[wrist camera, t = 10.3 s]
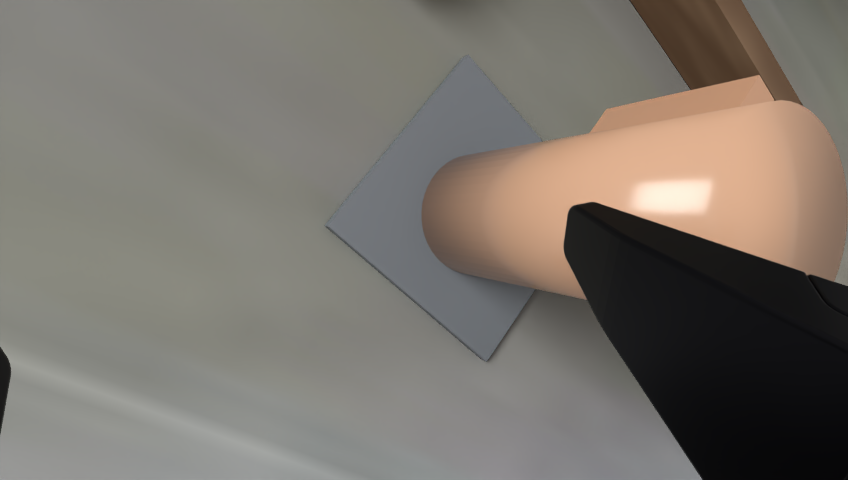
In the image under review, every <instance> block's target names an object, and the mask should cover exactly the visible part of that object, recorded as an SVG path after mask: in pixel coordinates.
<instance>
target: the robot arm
mask: <svg viewBox="0 0 848 480" xmlns="http://www.w3.org/2000/svg"><path fill="white" fill-rule="evenodd" d="M563 247H564V254H565V257H566V260H567V262H568V264H569V266H570V267H571V269H572V271H573V273H574V275H575V277H576V279H577V281H578V283H579V285H580V287H581V289H582V291H583V293H584V295H585V297H586V299H587V301H588V303H589V305H590V306H591V308H592V310H593V312H594V314H595V316H596V318H597V320H598V322H599V323H600V325H601V327H602V329H603V330H604V332H605V333H606V335H607V337H608V338H609V340H610V341H611V343H612V344H613V346H614V347H615V349H616V350H617V352H618V353H619V355H620V356H621V358H622V359H623V361H624V362H625V364H626V365H627V367H628V368H629V370H630V371H631V373H632V374H633V376H634V377H635V379H636V380H637V382H638V383H639V385H640V386H641V388H642V389H643V391H644V392H645V394H646V395H647V397H648V398H649V400H650V401H651V403H652V404H653V406H654V407H655V409H656V410H657V412H658V413H659V415H660V416H661V418H662V419H663V421H664V422H665V424H666V425H667V427H668V428H669V430H670V431H671V433H672V434H673V436H674V437H675V439H676V440H677V442H678V444H679V445H680V447H681V448H682V450H683V451H684V453H685V454H686V456H687V457H688V459H689V460H690V462H691V463H692V465H693V466H694V468H695V469H696V471H697V472H698V474H699V475H700V477H701V478H702V480H848V286H845V285H842V284H839V283H836V282H833V281H830V280H827V279H824V278H821V277H818V276H815V275H812V274H809V275H806V273H805V272H803V271H800V270H797V269H794V268H791V267H788V266H785V265H782V264H779V263H776V262H773V261H770V260H767V259H764V258H761V257H758V256H755V255H752V254H749V253H746V252H743V251H740V250H737V249H734V248H731V247H728V246H725V245H722V244H719V243H716V242H713V241H710V240H707V239H704V238H701V237H698V236H695V235H692V234H689V233H686V232H683V231H680V230H677V229H674V228H671V227H668V226H665V225H662V224H659V223H656V222H653V221H650V220H647V219H644V218H641V217H638V216H635V215H632V214H629V213H626V212H623V211H620V210H617V209H614V208H611V207H608V206H605V205H602V204H599V203H596V202H588V203H583V204H577V205H573V206H572V207H571V208H570V209H569V211H568V215H567V222H566V230H565V237H564V246H563ZM10 377H11V367H10V363H9V360H8V358H7V356H6V355H5V353H4V352H3V350H2V349H1V347H0V433H1V428H2V422H3V416H4V411H5V405H6V399H7V394H8V388H9V383H10Z"/></svg>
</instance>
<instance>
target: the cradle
mask: <svg viewBox="0 0 848 480" xmlns="http://www.w3.org/2000/svg"><path fill="white" fill-rule="evenodd" d="M630 1H631V2H632V4H633V5H634V7H635V8H636V10H637V11H638V13H639V14H640V16H641V17H642V18H643V20H644V21H645V23H646V24H647V26H648V27H649V29H650V30H651V32H652V33H653V35H654V36H655V38H656V39H657V40H658V42H659V43H660V45H661V46H662V48H663V49H664V51H665V52H666V54H667V55H668V57H669V58H670V60H671V61H672V62H673V64H674V65H675V67H676V68H677V70H678V71H679V73H680V74H681V76H682V77H683V79H684V80H685V82H686V83H687V85H688V86H689V87H690V89H691V90H694V89H699V88H703V87H707V86H712V85H716V84H721V83H725V82H730V81H734V80H739V79H743V78H748V77H752V76H757V75H760V77H761V79H762V80H763V82H764V84H765V85H766V87H767V89H768V90H769V92H770V94H771V95H772V97H773V99H774V101H778V100H784V101H791V102H794V103H797V104H800V105H802V103H801V102H800V100H799V98H798V96H797V95H796V93H795V91H794V90H793V88H792V86H791V84H790V83H789V81H788V79H787V78H786V76H785V74H784V72H783V71H782V69H781V67H780V66H779V64H778V62H777V61H776V59H775V57H774V55H773V54H772V52H771V50H770V49H769V47H768V45H767V43H766V42H765V40H764V38H763V37H762V35H761V33H760V31H759V30H758V28H757V26H756V25H755V23H754V21H753V20H752V18H751V16H750V14H749V13H748V11H747V9H746V8H745V6H744V4H743V2H742V1H741V0H630ZM802 106H803V105H802Z"/></svg>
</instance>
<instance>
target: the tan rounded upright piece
mask: <svg viewBox="0 0 848 480" xmlns="http://www.w3.org/2000/svg"><path fill="white" fill-rule="evenodd" d="M588 202H596V203H599V204H602V205H605V206H608V207H611V208H614V209H617V210H620V211H623V212H626V213H629V214H632V215H635V216H638V217H641V218H644V219H647V220H650V221H653V222H656V223H659V224H662V225H665V226H668V227H671V228H674V229H677V230H680V231H683V232H686V233H689V234H692V235H695V236H698V237H701V238H704V239H707V240H710V241H713V242H716V243H719V244H722V245H725V246H728V247H731V248H734V249H737V250H740V251H743V252H746V253H749V254H752V255H755V256H758V257H761V258H764V259H767V260H770V261H773V262H776V263H779V264H782V265H785V266H788V267H791V268H794V269H797V270H800V271H803V272H805V273H806V275H809V274H812V275H815V276H818V277H821V278H824V279H827V280H830V281H833V282H834V280H835V278H836V275H837V272H838V269H839V266H840V263H841V259H842V255H843V250H844V245H845V240H846V231H847V215H848V207H847V191H846V182H845V177H844V172H843V167H842V164H841V160H840V157H839V154H838V151H837V149H836V146H835V144H834V142H833V140H832V138H831V136H830V134H829V132H828V131H827V129H826V128H825V126H824V125H823V124H822V122H821V121H820V120H819V119H818V118H817V116H815V115H814V114H813V113H812V112H811V111H810V110H808V109H807V108H805V107H803V106H802V105H800V104H797V103H794V102H791V101H784V100H778V101H774V99H773V97H772V95H771V94H770V92H769V90H768V89H767V87H766V85H765V84H764V82H763V80H762V79H761V77H760V75H757V76H752V77H748V78H743V79H739V80H734V81H730V82H725V83H721V84H716V85H712V86H707V87H703V88H699V89H694V90H690V91H685V92H681V93H676V94H672V95H667V96H663V97H658V98H654V99H649V100H645V101H640V102H636V103H631V104H627V105H623V106H618V107H614V108H609V109H606V110H605V112H604V113H603V115H602V116H601V118H600V119H599V120H598V122H597V123H596V125H595V126H594V128H593V129H592V130H591V132H590V133H588V134H582V135H577V136H571V137H565V138H560V139H554V140H548V141H543V142H537V143H531V144H525V145H520V146H514V147H508V148H503V149H497V150H491V151H486V152H480V153H474V154H469V155H464V156H460V157H457V158H455V159H453V160H451V161H449V162H448V163H446V164H445V165H444V166H442V167H441V168H440V169H439V170H438V171H437V173H436V174H435V175H434V176H433V178H432V179H431V181H430V183H429V185H428V187H427V189H426V192H425V195H424V199H423V203H422V227H423V231H424V235H425V238H426V241H427V243H428V245H429V247H430V249H431V251H432V252H433V253H434V255H435V256H436V257H437V258H438V259H439V260H440V261H441V262H442V263H443V264H444V265H445V266H447V267H448V268H450V269H452V270H454V271H457V272H459V273H464V274H468V275H473V276H477V277H482V278H487V279H491V280H496V281H501V282H505V283H510V284H515V285H519V286H524V287H529V288H533V289H538V290H543V291H547V292H552V293H557V294H561V295H566V296H570V297H575V298H580V299H584V300H587V299H586V297H585V295H584V293H583V291H582V289H581V287H580V285H579V283H578V281H577V279H576V277H575V275H574V273H573V271H572V269H571V267H570V266H569V264H568V262H567V260H566V257H565V254H564V247H563V246H564V237H565V230H566V222H567V215H568V211H569V209H570V208H571V207H572V206H573V205H577V204H583V203H588Z"/></svg>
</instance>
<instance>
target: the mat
mask: <svg viewBox="0 0 848 480" xmlns="http://www.w3.org/2000/svg"><path fill="white" fill-rule="evenodd" d="M537 142H543V141H542V140H541V139H540V138H539V136H538V135H537V134H536V133H535V132H534V131H533V129H532V128H531V127H530V126H529V125H528V124H527V122H526V121H525V120H524V119H523V118H522V117H521V115H520V114H519V113H518V112H517V111H516V110H515V109H514V107H513V106H512V105H511V104H510V103H509V102H508V100H507V99H506V98H505V97H504V96H503V95H502V93H501V92H500V91H499V90H498V89H497V88H496V86H495V85H494V84H493V83H492V82H491V81H490V80H489V78H488V77H487V76H486V75H485V74H484V73H483V71H482V70H481V69H480V68H479V67H478V66H477V64H476V63H475V62H474V61H473V60H472V59H471V57H470V56H469V55H467V56H465V57H463V58H462V59H461V60H460V61H459V63H458V64H457V65H456V66H455V67H454V69H453V70H452V71H451V72H450V74H449V75H448V76H447V77H446V78H445V80H444V81H443V82H442V83H441V84H440V86H439V87H438V88H437V89H436V91H435V92H434V93H433V94H432V95H431V97H430V98H429V99H428V100H427V102H426V103H425V104H424V105H423V106H422V108H421V109H420V110H419V111H418V112H417V114H416V115H415V116H414V117H413V119H412V120H411V121H410V122H409V123H408V125H407V126H406V127H405V128H404V130H403V131H402V132H401V133H400V134H399V136H398V137H397V138H396V139H395V140H394V142H393V143H392V144H391V145H390V147H389V148H388V149H387V150H386V151H385V153H384V154H383V155H382V156H381V158H380V159H379V160H378V161H377V162H376V164H375V165H374V166H373V167H372V168H371V170H370V171H369V172H368V173H367V175H366V176H365V177H364V178H363V179H362V181H361V182H360V183H359V184H358V186H357V187H356V188H355V189H354V190H353V192H352V193H351V194H350V195H349V196H348V198H347V199H346V200H345V201H344V203H343V204H342V205H341V206H340V207H339V209H338V210H337V211H336V212H335V213H334V215H333V216H332V217H331V218H330V220H329V221H328V222H327V223H326V224H325V227H327V228H328V229H329V230H330V231H331V232H332V233H334V234H335V235H336V236H337V237H338V238H340V239H341V240H342V241H343V242H344V243H345V244H347V245H348V246H349V247H350V248H351V249H352V250H354V251H355V252H356V253H357V254H358V255H359V256H361V257H362V258H363V259H364V260H365V261H367V262H368V263H369V264H370V265H371V266H372V267H374V268H375V269H376V270H377V271H378V272H379V273H381V274H382V275H383V276H384V277H385V278H386V279H388V280H389V281H390V282H391V283H392V284H394V285H395V286H396V287H397V288H398V289H399V290H401V291H402V292H403V293H404V294H405V295H406V296H408V297H409V298H410V299H411V300H412V301H413V302H415V303H416V304H417V305H418V306H419V307H421V308H422V309H423V310H424V311H425V312H426V313H428V314H429V315H430V316H431V317H432V318H433V319H435V320H436V321H437V322H438V323H439V324H440V325H442V326H443V327H444V328H445V329H446V330H448V331H449V332H450V333H451V334H452V335H453V336H455V337H456V338H457V339H458V340H459V341H460V342H462V343H463V344H464V345H465V346H466V347H467V348H469V349H470V350H471V351H472V352H473V353H475V354H476V355H477V356H478V357H479V358H480V359H482V360H484V361H486V362H487V360H488V359H489V357H490V356H491V355H492V353H493V352H494V350H495V349H496V347H497V346H498V344H499V343H500V341H501V340H502V338H503V337H504V335H505V334H506V332H507V331H508V329H509V328H510V326H511V325H512V323H513V322H514V320H515V319H516V317H517V316H518V314H519V313H520V311H521V310H522V308H523V307H524V305H525V304H526V303H527V301H528V300H529V298H530V297H531V295H532V294H533V292H534V291H535V289H533V288H529V287H524V286H519V285H515V284H510V283H505V282H501V281H496V280H491V279H487V278H482V277H477V276H473V275H468V274H464V273H459V272H457V271H454V270H452V269H450V268H448V267H447V266H445V265H444V264H443V263H442V262H441V261H440V260H439V259H438V258H437V257H436V256H435V255H434V253H433V252H432V251H431V249H430V247H429V245H428V243H427V241H426V238H425V235H424V231H423V227H422V203H423V199H424V195H425V192H426V189H427V187H428V185H429V183H430V181H431V179H432V178H433V176H434V175H435V174H436V173H437V171H438V170H439V169H440V168H441V167H442V166H444V165H445V164H446V163H448V162H449V161H451V160H453V159H455V158H457V157H460V156H464V155H469V154H474V153H480V152H486V151H491V150H497V149H503V148H508V147H514V146H520V145H525V144H531V143H537Z"/></svg>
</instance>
